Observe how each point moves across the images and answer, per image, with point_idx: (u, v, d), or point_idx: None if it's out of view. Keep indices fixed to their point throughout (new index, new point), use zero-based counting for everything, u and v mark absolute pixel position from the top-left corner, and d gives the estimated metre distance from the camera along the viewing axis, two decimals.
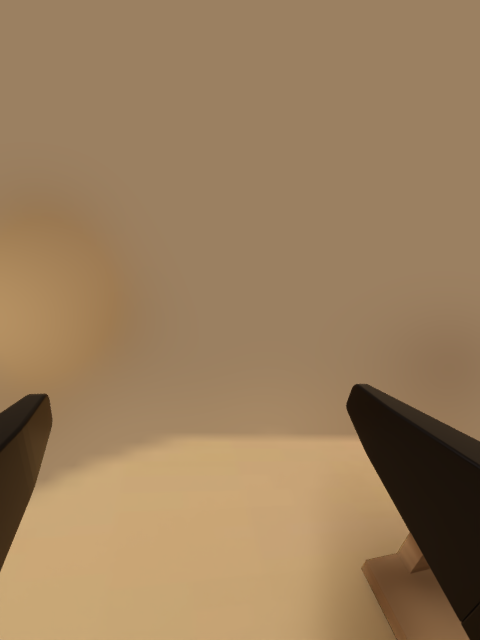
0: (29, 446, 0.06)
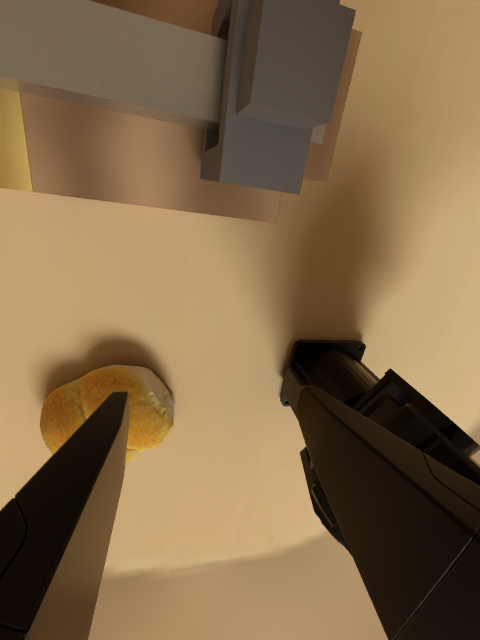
0: (123, 439, 0.07)
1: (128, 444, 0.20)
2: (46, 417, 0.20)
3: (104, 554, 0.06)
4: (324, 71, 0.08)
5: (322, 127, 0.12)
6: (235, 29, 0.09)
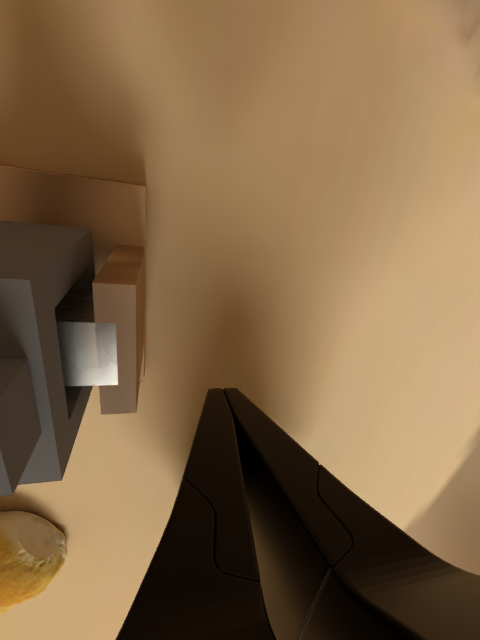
0: None
1: None
2: None
3: None
4: None
5: (113, 371, 0.10)
6: None
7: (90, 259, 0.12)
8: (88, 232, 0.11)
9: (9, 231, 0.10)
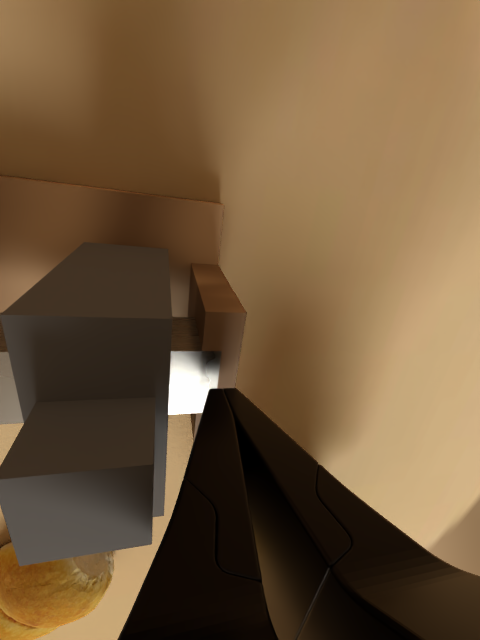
0: None
1: (51, 627, 0.18)
2: None
3: None
4: (124, 516, 0.06)
5: None
6: (23, 415, 0.06)
7: None
8: None
9: (100, 256, 0.10)
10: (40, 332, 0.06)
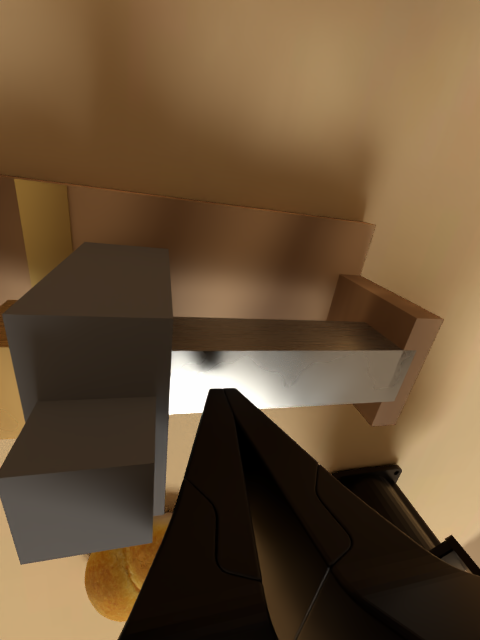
0: None
1: None
2: (93, 581, 0.19)
3: None
4: (125, 514, 0.06)
5: (396, 389, 0.12)
6: (24, 414, 0.06)
7: None
8: (168, 253, 0.11)
9: (100, 255, 0.10)
10: (42, 331, 0.06)
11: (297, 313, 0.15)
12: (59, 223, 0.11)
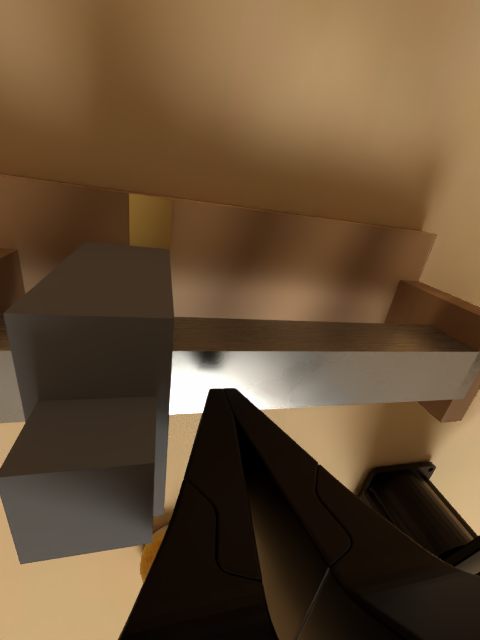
0: None
1: None
2: None
3: None
4: (125, 514, 0.06)
5: (467, 388, 0.13)
6: (25, 414, 0.06)
7: None
8: (169, 253, 0.11)
9: (101, 255, 0.10)
10: (43, 331, 0.06)
11: (358, 316, 0.16)
12: (162, 233, 0.12)
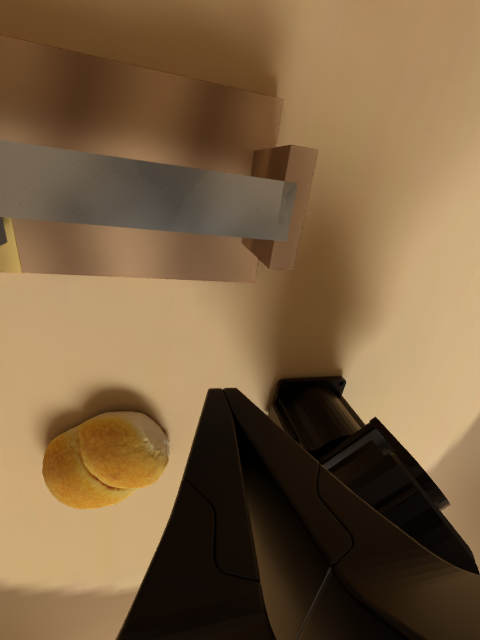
0: None
1: (126, 487, 0.22)
2: (48, 466, 0.21)
3: None
4: None
5: (286, 228, 0.13)
6: None
7: None
8: None
9: None
10: None
11: None
12: None
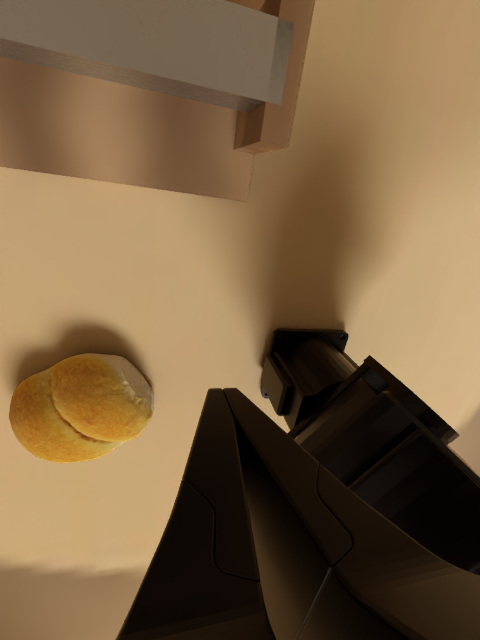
0: None
1: (102, 435, 0.20)
2: (14, 407, 0.19)
3: None
4: None
5: (280, 85, 0.11)
6: None
7: None
8: None
9: None
10: None
11: None
12: None
